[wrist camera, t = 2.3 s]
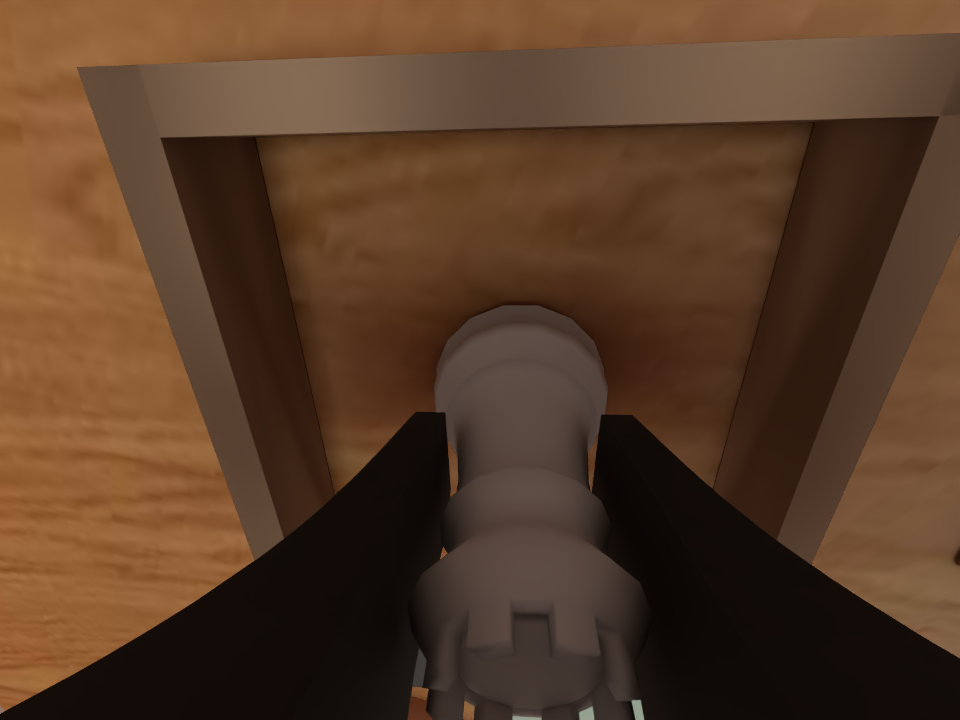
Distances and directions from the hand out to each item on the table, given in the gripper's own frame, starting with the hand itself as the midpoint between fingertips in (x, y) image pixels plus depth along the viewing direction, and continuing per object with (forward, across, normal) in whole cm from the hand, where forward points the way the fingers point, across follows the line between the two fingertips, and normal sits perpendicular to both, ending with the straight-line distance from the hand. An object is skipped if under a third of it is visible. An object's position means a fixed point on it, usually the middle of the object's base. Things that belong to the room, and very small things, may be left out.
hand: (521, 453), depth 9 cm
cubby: (+3, 0, 0) cm, 3 cm away
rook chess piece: (+4, 0, 0) cm, 4 cm away
